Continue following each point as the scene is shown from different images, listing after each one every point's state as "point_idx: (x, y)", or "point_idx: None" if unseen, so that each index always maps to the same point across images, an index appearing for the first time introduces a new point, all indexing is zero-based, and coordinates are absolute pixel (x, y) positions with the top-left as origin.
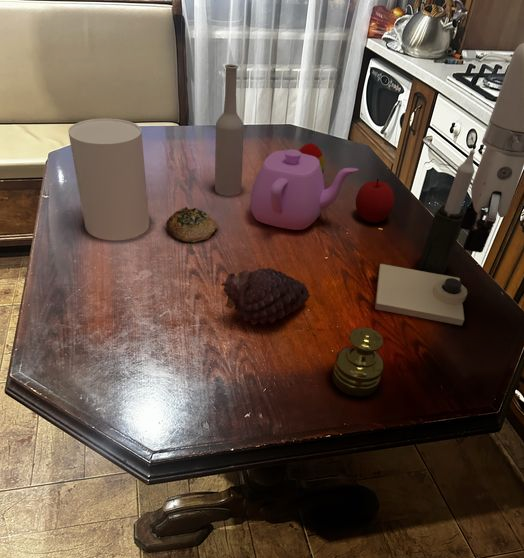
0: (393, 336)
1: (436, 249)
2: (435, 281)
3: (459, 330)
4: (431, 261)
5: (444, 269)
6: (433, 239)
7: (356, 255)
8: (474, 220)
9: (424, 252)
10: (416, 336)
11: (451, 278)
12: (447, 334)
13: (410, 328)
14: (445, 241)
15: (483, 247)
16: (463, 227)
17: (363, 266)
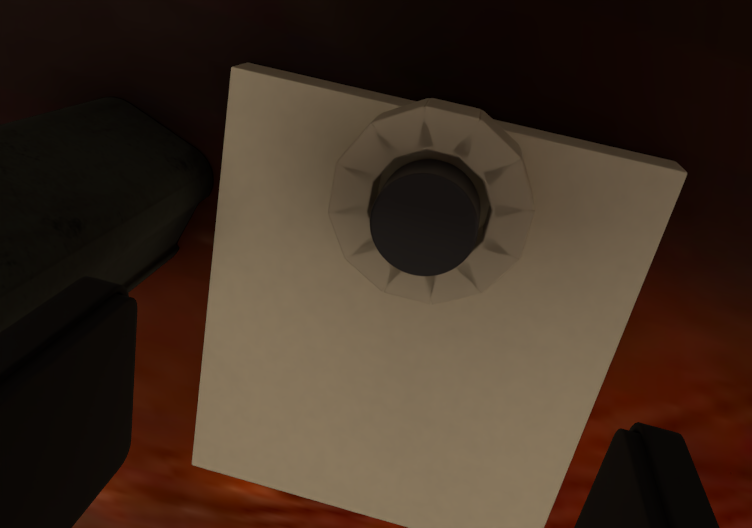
0: (738, 515)
1: None
2: (299, 234)
3: (718, 187)
4: (147, 251)
5: (152, 136)
6: None
7: (116, 503)
8: (53, 446)
9: None
10: (749, 421)
11: (376, 228)
12: (749, 266)
13: (681, 430)
14: None
15: (695, 482)
16: (121, 447)
17: (197, 497)
